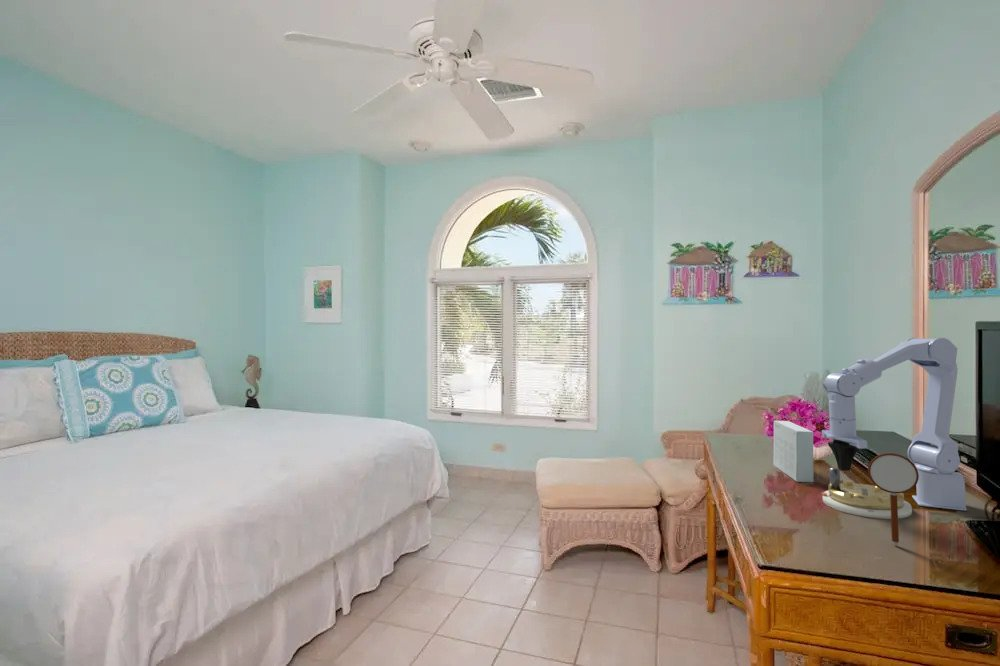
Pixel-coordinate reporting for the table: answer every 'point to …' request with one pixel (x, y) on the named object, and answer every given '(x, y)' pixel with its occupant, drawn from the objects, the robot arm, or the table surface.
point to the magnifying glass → (893, 481)
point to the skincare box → (793, 450)
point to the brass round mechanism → (860, 493)
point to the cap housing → (882, 514)
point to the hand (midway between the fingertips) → (844, 469)
